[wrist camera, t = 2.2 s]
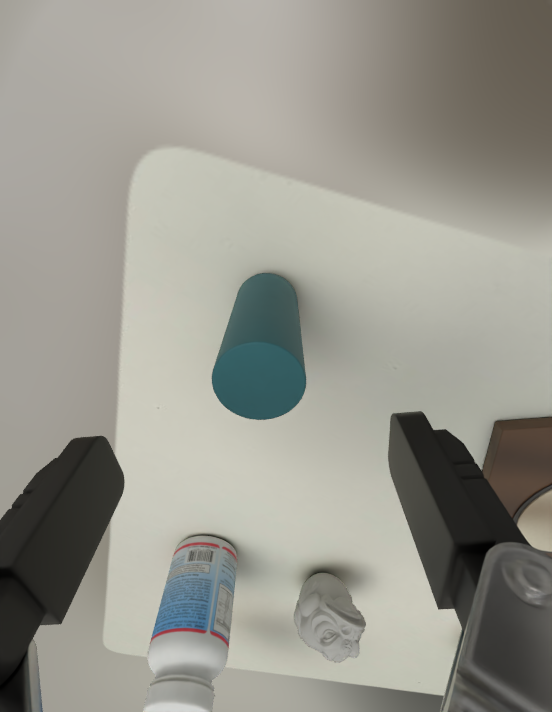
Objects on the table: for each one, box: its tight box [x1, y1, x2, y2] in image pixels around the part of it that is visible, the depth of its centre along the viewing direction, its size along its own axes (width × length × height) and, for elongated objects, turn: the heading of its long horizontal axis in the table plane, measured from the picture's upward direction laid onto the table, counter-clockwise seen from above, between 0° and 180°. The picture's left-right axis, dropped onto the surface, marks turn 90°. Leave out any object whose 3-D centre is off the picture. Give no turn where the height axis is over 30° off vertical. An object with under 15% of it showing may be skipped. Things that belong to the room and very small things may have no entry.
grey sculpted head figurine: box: [294, 573, 366, 663], centre depth 32 cm, size 6×7×7 cm
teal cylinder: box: [212, 273, 306, 420], centre depth 16 cm, size 3×3×9 cm
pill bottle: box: [143, 536, 237, 712], centre depth 28 cm, size 6×6×11 cm
